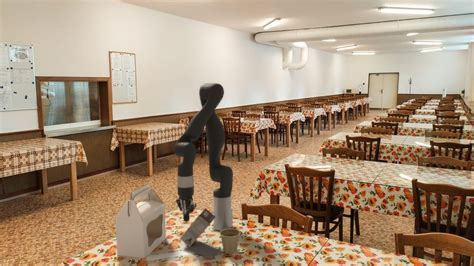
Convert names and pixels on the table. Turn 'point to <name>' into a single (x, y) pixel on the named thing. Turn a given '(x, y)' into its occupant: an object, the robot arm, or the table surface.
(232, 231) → the flower pot
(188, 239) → the coffee box
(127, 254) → the gable box
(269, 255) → the table surface
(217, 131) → the robot arm
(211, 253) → the grey flat slab
